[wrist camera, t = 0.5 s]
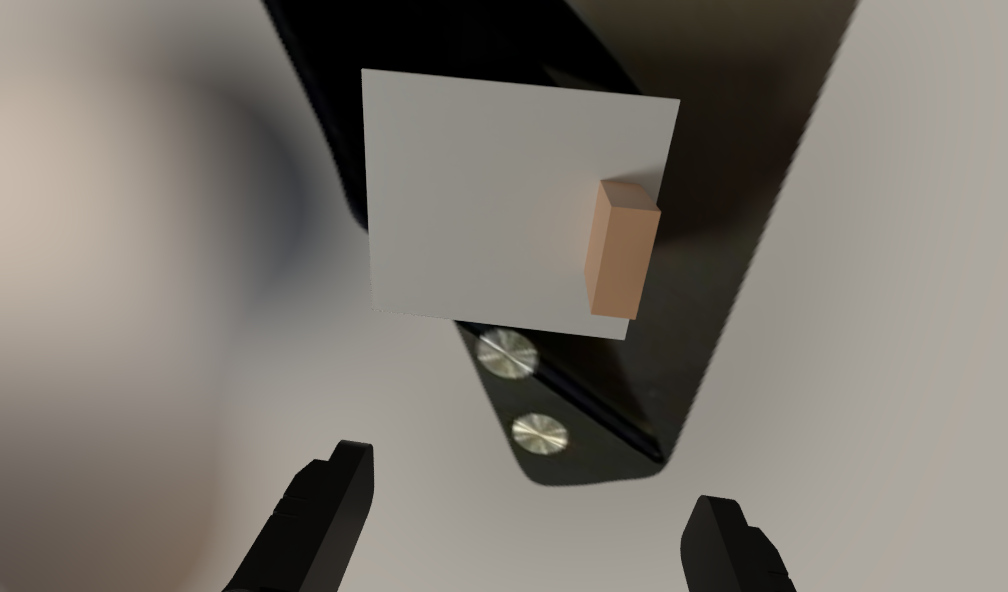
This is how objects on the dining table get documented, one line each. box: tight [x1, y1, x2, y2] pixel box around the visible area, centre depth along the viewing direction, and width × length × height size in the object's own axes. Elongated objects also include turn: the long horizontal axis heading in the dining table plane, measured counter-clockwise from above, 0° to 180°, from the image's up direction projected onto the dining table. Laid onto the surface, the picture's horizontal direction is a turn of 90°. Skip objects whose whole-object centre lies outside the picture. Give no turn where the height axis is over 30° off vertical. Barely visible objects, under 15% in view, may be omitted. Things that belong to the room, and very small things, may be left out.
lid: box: [362, 69, 680, 340], centre depth 24 cm, size 13×15×7 cm
